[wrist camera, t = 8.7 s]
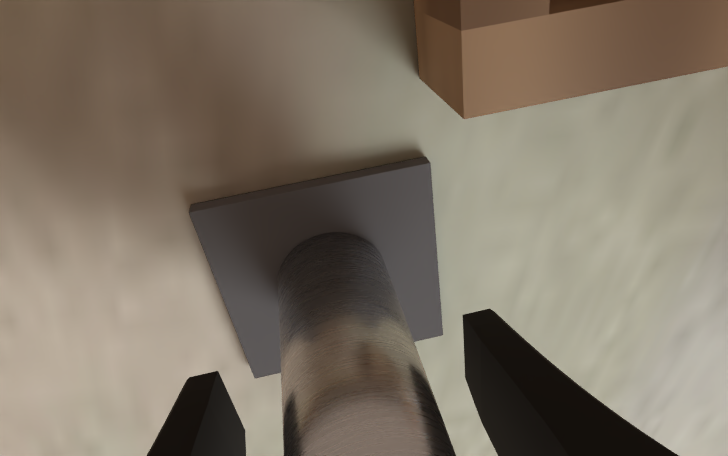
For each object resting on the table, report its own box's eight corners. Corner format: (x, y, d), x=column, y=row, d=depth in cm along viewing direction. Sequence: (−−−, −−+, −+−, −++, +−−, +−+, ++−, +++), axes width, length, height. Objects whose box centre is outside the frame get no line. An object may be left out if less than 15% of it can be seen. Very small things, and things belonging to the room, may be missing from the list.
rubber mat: (425, 156, 12) (429, 162, 12) (439, 326, 15) (443, 334, 15) (191, 204, 12) (188, 212, 11) (255, 368, 15) (254, 378, 15)
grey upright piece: (388, 193, 12) (610, 654, 4) (384, 338, 15) (517, 786, 7) (268, 203, 12) (273, 738, 4) (285, 350, 14) (310, 845, 6)
